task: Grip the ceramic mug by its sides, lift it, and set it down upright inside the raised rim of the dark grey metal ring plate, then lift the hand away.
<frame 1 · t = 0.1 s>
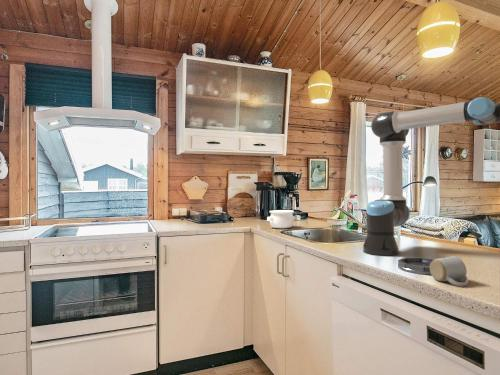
pot: (281, 228, 235), on the worktop
ring plate: (422, 268, 120), on the worktop
ceramic mug: (451, 282, 105), on the worktop
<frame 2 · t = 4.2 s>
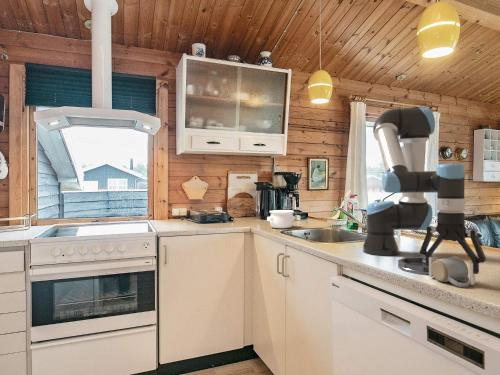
hand: (451, 279, 105), 1 cm above the worktop, tool pointing down, fingers closed on ceramic mug, 11 cm apart
ceramic mug: (452, 283, 104), on the worktop, touching gripper
everything else where it was.
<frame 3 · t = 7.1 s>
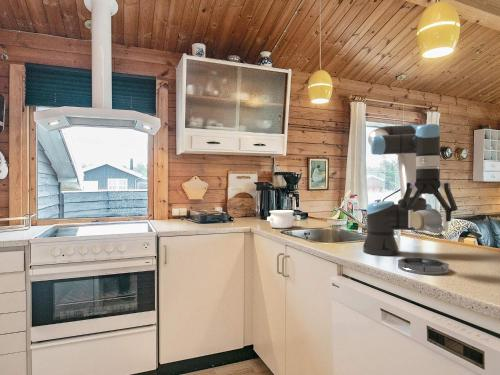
hand: (427, 228, 117), 15 cm above the worktop, tool pointing down, fingers closed on ceramic mug, 11 cm apart
ceramic mug: (428, 231, 117), point 14 cm above the worktop, touching gripper
everything else where it was.
when the fingers open (4 cm above the worktop, at t = 10.3 s): ceramic mug drops 2 cm, resting on ring plate.
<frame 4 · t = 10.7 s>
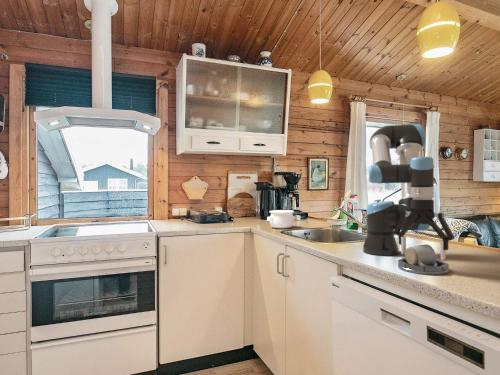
hand: (422, 256, 120), 5 cm above the worktop, tool pointing down, fingers open, 13 cm apart
ceramic mug: (422, 267, 119), point 1 cm above the worktop, touching ring plate
everything else where it was.
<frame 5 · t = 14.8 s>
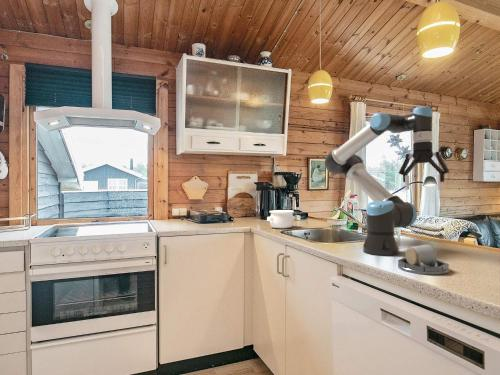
hand: (422, 189, 145), 29 cm above the worktop, tool pointing down, fingers open, 13 cm apart
nothing on the worktop moved.
at the end: ceramic mug 1.0 cm from the ring plate (horizontally); ceramic mug tilted 1°; the gripper is holding nothing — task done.
